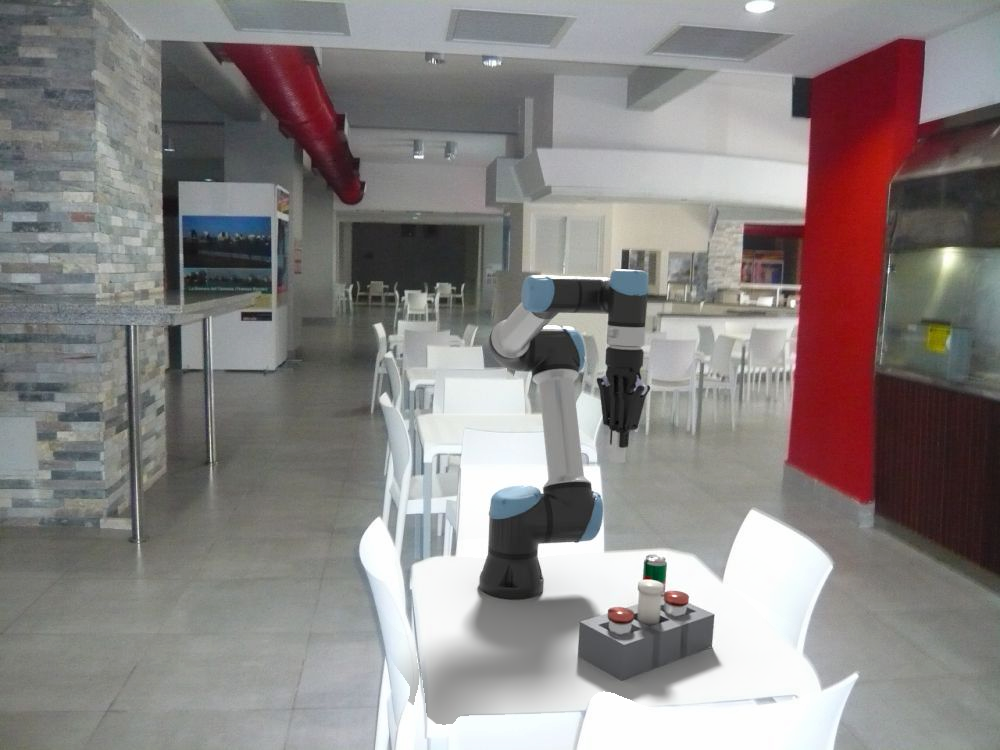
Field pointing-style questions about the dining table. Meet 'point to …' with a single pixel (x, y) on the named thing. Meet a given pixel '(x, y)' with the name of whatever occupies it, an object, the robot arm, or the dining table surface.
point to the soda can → (655, 569)
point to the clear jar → (676, 603)
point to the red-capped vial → (620, 620)
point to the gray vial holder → (645, 641)
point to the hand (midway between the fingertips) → (617, 461)
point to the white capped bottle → (649, 602)
